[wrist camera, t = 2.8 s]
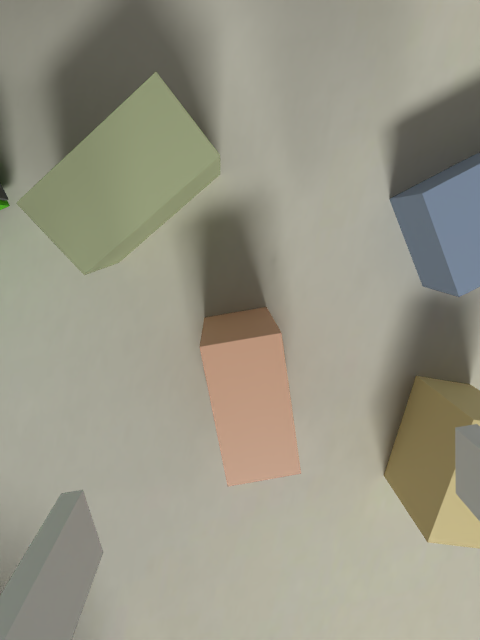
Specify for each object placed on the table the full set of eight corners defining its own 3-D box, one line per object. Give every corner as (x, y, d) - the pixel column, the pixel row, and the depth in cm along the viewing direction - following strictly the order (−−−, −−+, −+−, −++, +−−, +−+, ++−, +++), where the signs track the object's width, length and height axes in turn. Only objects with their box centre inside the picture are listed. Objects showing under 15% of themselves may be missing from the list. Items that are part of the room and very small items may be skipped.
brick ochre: (433, 481, 28) (490, 549, 22) (383, 474, 27) (427, 542, 21) (469, 383, 26) (541, 429, 20) (415, 375, 25) (473, 419, 20)
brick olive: (119, 262, 22) (84, 275, 17) (71, 209, 22) (15, 203, 16) (220, 174, 21) (220, 155, 16) (174, 115, 21) (156, 71, 15)
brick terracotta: (282, 417, 26) (301, 473, 20) (225, 427, 26) (227, 486, 20) (266, 306, 24) (281, 332, 18) (204, 317, 24) (199, 346, 18)
